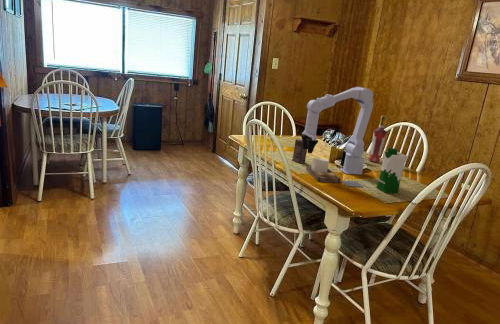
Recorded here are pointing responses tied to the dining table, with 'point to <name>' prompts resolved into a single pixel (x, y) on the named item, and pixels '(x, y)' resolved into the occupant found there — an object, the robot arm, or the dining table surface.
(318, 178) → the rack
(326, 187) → the dining table surface
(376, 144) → the liquor
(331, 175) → the tan rectangular block
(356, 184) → the mat
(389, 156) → the milk carton
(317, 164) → the cream rectangular prism
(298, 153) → the box
